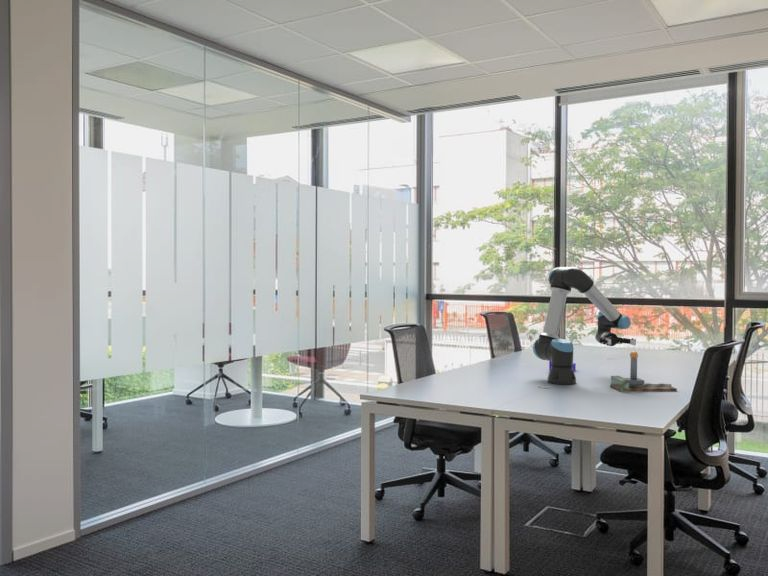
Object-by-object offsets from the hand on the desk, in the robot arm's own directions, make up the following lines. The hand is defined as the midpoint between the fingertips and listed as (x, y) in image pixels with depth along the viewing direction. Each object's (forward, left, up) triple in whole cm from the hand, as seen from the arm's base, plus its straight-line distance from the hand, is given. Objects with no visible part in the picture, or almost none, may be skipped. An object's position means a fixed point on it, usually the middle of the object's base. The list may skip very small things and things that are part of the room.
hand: (622, 342), depth 371 cm
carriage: (-1, -17, -20) cm, 27 cm away
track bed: (+4, -17, -22) cm, 29 cm away
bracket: (-17, +46, -23) cm, 54 cm away
